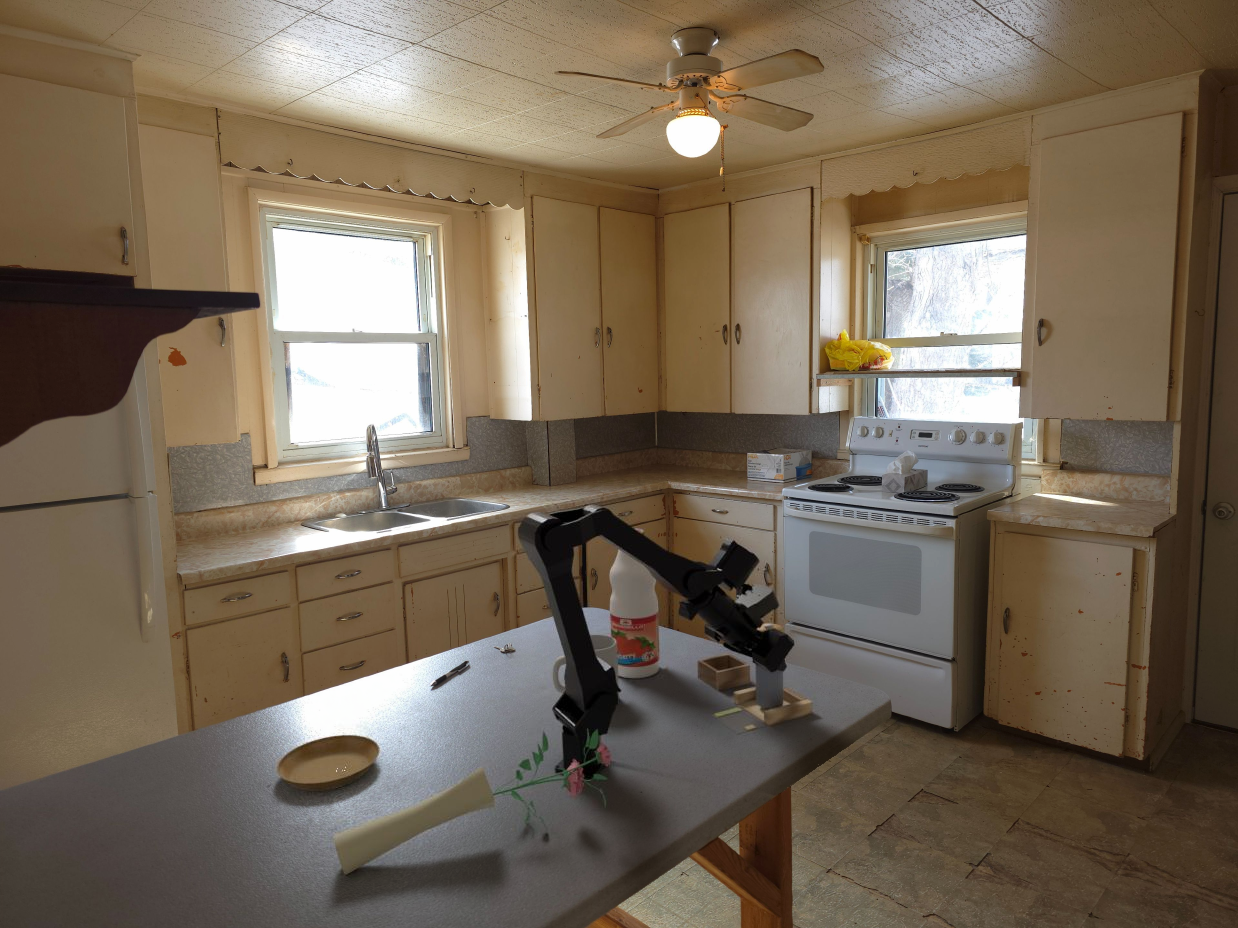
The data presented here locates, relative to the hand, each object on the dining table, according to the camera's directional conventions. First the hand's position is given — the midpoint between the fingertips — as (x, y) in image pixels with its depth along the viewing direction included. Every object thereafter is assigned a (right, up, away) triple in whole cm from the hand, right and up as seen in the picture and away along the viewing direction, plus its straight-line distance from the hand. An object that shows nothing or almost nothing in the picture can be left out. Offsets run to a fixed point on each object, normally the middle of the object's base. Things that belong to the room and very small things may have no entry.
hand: (775, 664), depth 136 cm
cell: (-1, -7, 0) cm, 7 cm away
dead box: (-7, -7, +13) cm, 17 cm away
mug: (-33, -9, +7) cm, 34 cm away
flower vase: (-45, -14, -33) cm, 57 cm away
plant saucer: (-71, -13, -14) cm, 73 cm away
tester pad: (-7, -9, -3) cm, 12 cm away
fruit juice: (-23, -7, +21) cm, 32 cm away
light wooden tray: (0, -8, +1) cm, 8 cm away
